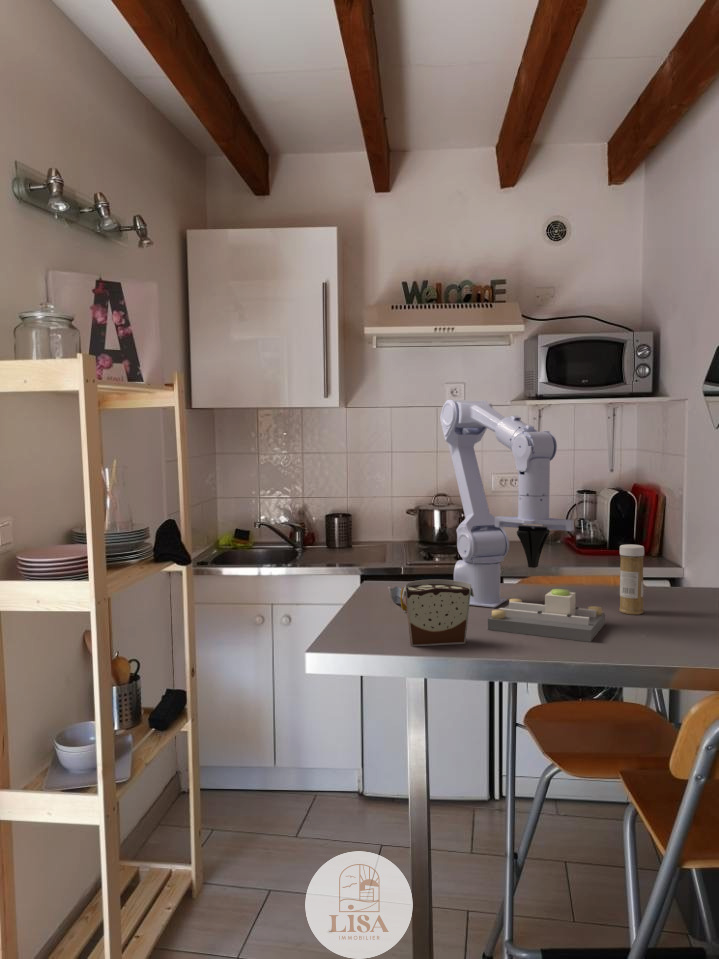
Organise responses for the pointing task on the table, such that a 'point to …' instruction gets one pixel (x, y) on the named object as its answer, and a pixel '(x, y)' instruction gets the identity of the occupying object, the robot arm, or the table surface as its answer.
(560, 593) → the block
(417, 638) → the food container
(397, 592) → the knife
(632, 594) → the sprinkles bottle
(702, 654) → the table surface
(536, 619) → the levelling base
